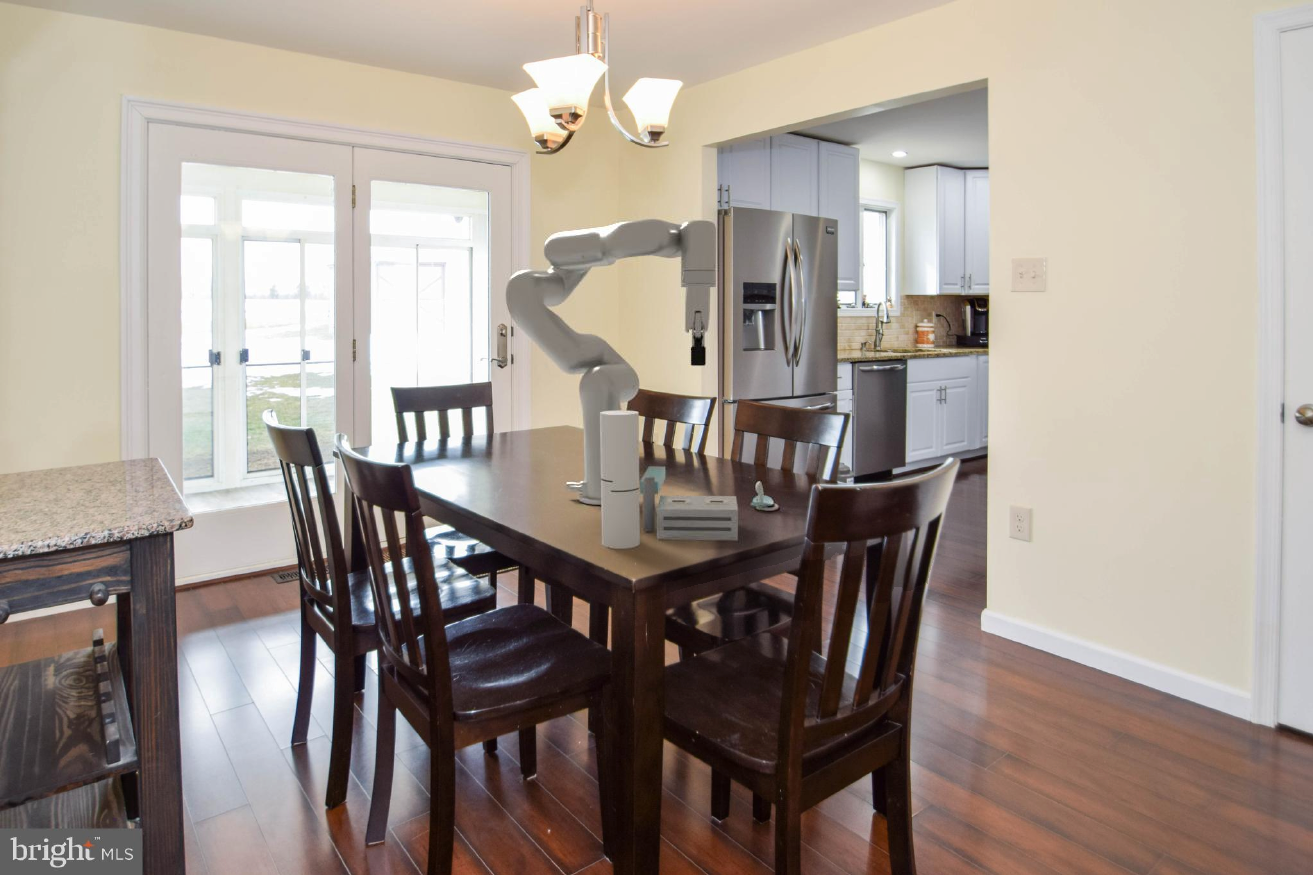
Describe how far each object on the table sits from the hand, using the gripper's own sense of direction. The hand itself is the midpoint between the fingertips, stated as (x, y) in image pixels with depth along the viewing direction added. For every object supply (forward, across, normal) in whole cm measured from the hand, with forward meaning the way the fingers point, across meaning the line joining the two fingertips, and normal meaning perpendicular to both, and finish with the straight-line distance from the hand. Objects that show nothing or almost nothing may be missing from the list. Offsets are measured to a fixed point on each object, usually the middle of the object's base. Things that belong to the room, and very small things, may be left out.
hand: (698, 365), depth 175 cm
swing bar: (+32, +12, -9) cm, 35 cm away
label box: (+32, +20, 0) cm, 38 cm away
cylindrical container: (+32, +29, -14) cm, 46 cm away
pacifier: (+32, -1, +15) cm, 36 cm away
